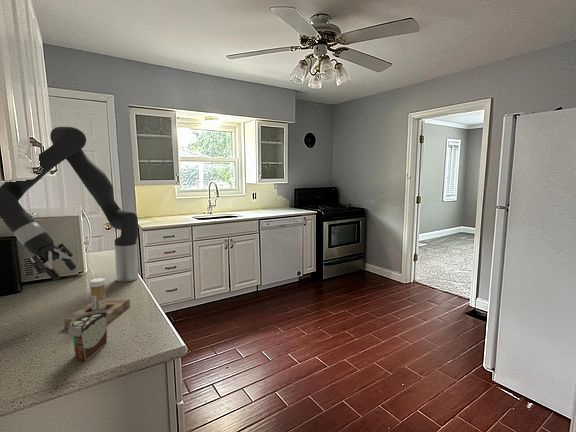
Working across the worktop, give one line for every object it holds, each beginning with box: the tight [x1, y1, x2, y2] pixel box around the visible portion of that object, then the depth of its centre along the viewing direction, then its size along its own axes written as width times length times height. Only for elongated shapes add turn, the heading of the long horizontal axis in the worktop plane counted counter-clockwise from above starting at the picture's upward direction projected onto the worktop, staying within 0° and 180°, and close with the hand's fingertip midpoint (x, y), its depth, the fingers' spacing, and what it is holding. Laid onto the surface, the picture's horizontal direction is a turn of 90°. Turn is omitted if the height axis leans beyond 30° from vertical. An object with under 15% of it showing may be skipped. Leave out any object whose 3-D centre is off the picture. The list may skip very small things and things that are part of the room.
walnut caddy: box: [63, 297, 131, 329], centre depth 110 cm, size 18×12×3 cm, turn 179°
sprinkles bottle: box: [89, 277, 106, 312], centre depth 109 cm, size 5×5×14 cm
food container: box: [67, 310, 109, 363], centre depth 87 cm, size 12×6×10 cm, turn 178°
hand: (66, 273), depth 111 cm, fingers open, 8 cm apart
